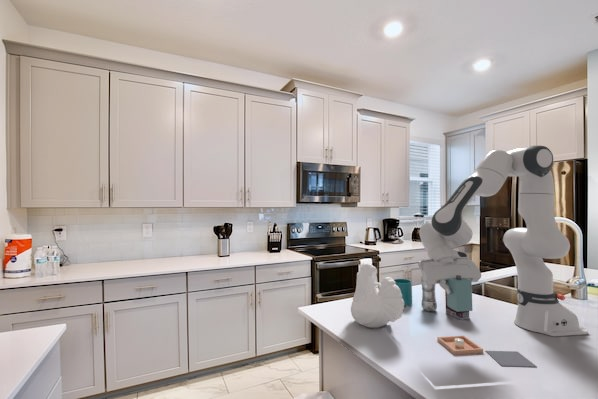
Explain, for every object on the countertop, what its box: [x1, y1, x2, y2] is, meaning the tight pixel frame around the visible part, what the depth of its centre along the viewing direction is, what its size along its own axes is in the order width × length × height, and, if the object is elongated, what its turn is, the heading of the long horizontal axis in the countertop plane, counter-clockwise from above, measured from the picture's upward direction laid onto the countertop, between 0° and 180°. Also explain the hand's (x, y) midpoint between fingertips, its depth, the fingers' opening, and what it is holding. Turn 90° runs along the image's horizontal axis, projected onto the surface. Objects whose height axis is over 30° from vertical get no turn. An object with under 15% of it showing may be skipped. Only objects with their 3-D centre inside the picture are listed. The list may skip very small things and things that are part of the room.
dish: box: [436, 335, 484, 356], centre depth 101 cm, size 10×10×3 cm
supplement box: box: [444, 283, 470, 321], centre depth 130 cm, size 9×5×16 cm, turn 23°
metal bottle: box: [420, 275, 438, 312], centre depth 137 cm, size 6×7×20 cm
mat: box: [485, 350, 538, 368], centre depth 93 cm, size 10×9×1 cm
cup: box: [393, 278, 413, 307], centre depth 147 cm, size 9×12×11 cm
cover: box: [447, 275, 473, 312], centre depth 101 cm, size 6×6×11 cm
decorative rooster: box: [350, 262, 405, 329], centre depth 120 cm, size 25×16×25 cm, turn 17°
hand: (460, 292), depth 101 cm, fingers closed on cover, 5 cm apart
